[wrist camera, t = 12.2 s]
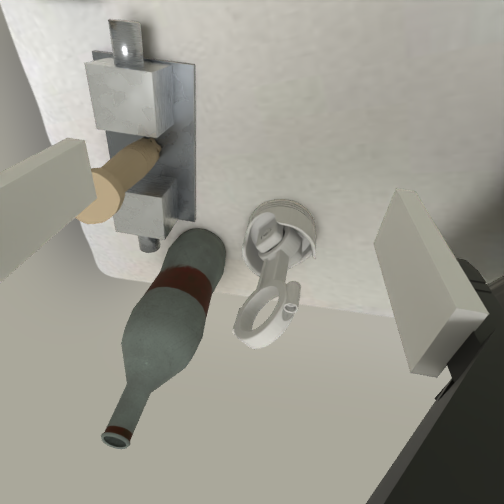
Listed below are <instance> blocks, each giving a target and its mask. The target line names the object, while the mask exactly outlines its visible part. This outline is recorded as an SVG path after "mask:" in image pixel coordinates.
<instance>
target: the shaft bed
mask: <svg viewBox="0 0 504 504" xmlns="http://www.w3.org/2000/svg"><path fill="white" fill-rule="evenodd" d="M108 22H109V29H110V36H111V44H112V51H113V53H108V52H101V51H92V54H93V60H94V61H91V62H86V63H84V64H85V69H86V74H87V80H88V85H89V91H90V96H91V101H92V107H93V112H94V117H95V123H96V128H97V129H100V130H106V136H107V142H108V148H109V154H110V159H111V158H112V157H113V156H115V155H116V154H117V153H118V152H119V151H120V150H122V149H123V148H125V147H126V146H128V145H129V144H131V143H133V142H135V141H137V140H139V139H141V138H145V139H150V138H154V139H155V141H156V143H157V144H158V145H160V146H161V151H160V153H159V156H160V157H159V159H158V161H157V162H156V163H155V165H154V166H153V167H152V169H151V170H150V171H149V172H148V173H147V174H146V175H145V176H144V177H143V178H142V179H141V180H140V181H138V182H137V183H136V184H135V185H133V186H132V187H131V188H130V189H128V190H127V191H126V192H125V198H124V201H123V203H122V206H121V208H120V209H119V210H118V211H117V213H115V214H114V215H113V219H114V224H115V230H116V232H121V233H126V234H132V235H138V239H139V247H140V250H141V251H143V252H146V253H151V252H155V251H157V250H158V249H159V248H160V239H162V240H165V239H166V237H167V236H168V234H169V232H170V231H171V229H172V228H173V226H174V225H175V223H176V221H177V220H178V219H180V220H186V221H192V222H195V220H196V177H195V65H194V64H187V63H180V62H172V61H165V60H158V59H151V58H144V57H143V46H142V35H141V24H140V22H135V21H127V20H116V19H108Z"/></svg>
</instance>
